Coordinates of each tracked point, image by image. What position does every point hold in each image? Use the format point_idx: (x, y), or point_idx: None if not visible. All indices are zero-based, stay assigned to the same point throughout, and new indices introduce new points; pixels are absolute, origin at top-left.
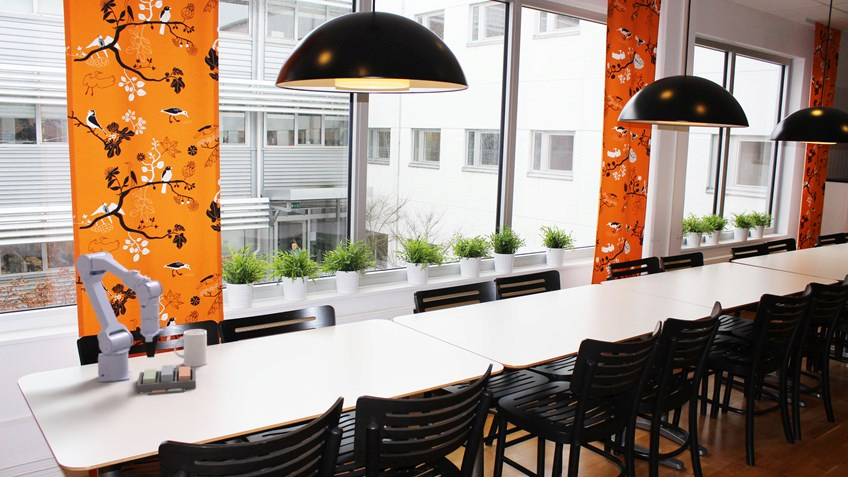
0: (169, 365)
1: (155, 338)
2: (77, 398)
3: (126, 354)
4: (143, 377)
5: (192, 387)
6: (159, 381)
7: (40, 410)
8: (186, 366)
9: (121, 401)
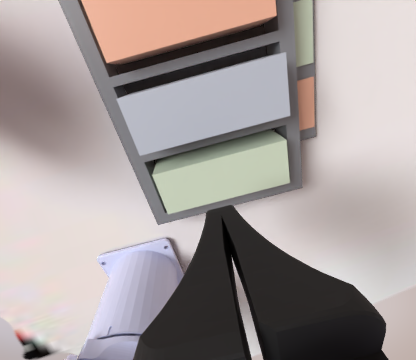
0: (131, 118)
1: (365, 341)
2: None
3: (132, 326)
4: (267, 187)
5: None
6: None
7: None
8: (87, 13)
9: (348, 194)
